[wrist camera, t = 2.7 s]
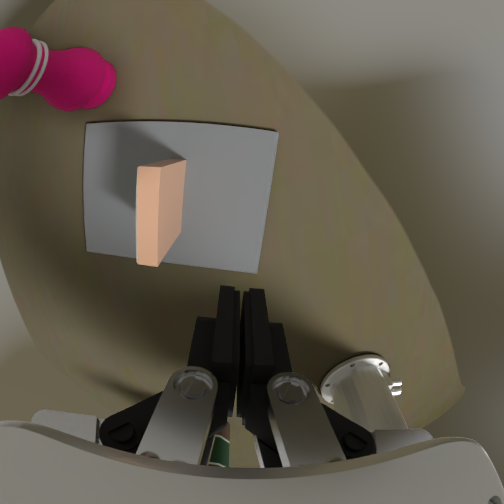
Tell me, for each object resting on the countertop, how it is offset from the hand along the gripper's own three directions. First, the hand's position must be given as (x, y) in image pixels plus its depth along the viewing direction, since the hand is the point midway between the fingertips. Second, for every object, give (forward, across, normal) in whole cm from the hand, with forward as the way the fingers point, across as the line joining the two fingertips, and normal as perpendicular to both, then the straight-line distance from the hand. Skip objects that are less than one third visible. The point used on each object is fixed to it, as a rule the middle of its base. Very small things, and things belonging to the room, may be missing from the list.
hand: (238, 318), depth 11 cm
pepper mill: (+21, +19, -13) cm, 31 cm away
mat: (+20, +8, 0) cm, 22 cm away
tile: (+20, +7, 0) cm, 21 cm away
